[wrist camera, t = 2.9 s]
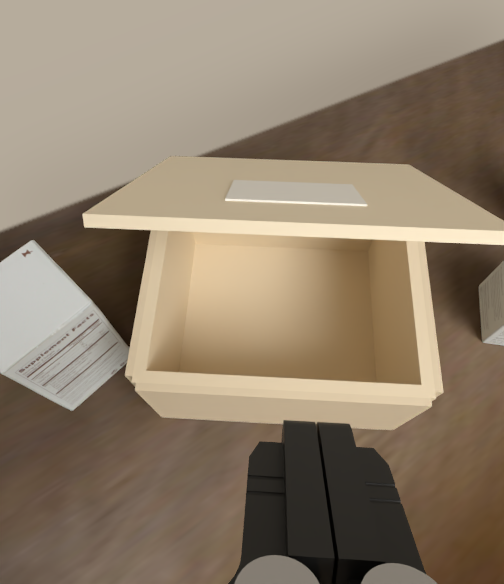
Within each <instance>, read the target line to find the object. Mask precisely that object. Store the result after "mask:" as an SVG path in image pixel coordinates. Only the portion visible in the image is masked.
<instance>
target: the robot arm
mask: <svg viewBox="0 0 504 584" xmlns="http://www.w3.org/2000/svg"><path fill="white" fill-rule="evenodd" d="M228 584H437V583H436V582H435V581H434V580H433V579H431V578H430V577H429V576H427V575H426V572H425V570H424V568H423V565H422V562H421V559H420V556H419V553H418V550H417V547H416V544H415V541H414V538H413V535H412V532H411V529H410V526H409V524H408V521H407V518H406V515H405V512H404V509H403V506H402V504H401V503H400V497H399V494H398V491H397V488H395V483H394V480H393V477H392V474H391V471H390V468H389V465H388V464H387V463H386V462H385V460H384V459H383V458H382V457H381V456H380V455H379V454H378V453H377V452H376V450H375V449H374V448H362V447H356V445H355V441H354V437H353V433H352V429H351V426H350V424H346V423H329V422H317V424H316V423H315V422H309V421H292V420H283V429H282V443H276V442H259V443H258V445H257V446H256V448H255V449H254V451H253V452H252V453H251V455H250V456H249V467H248V480H247V493H246V505H245V517H244V530H243V543H242V555H241V562H240V565H239V568H238V570H237V572H236V574H235V576H234V577H233V579H232V580H231V581H230V582H229V583H228Z"/></svg>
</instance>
